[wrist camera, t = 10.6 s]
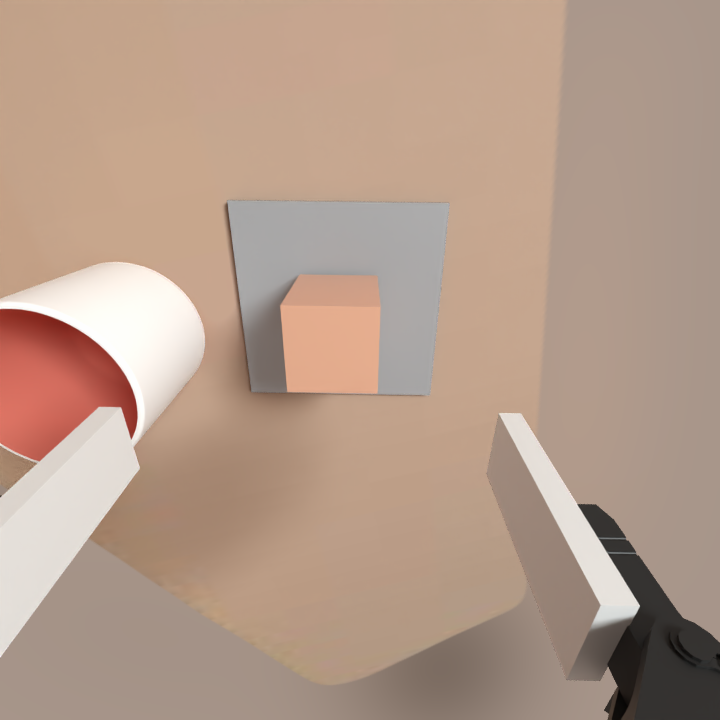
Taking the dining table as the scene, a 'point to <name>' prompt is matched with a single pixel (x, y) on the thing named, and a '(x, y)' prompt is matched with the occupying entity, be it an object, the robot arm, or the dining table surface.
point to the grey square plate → (342, 257)
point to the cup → (93, 353)
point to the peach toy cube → (332, 334)
